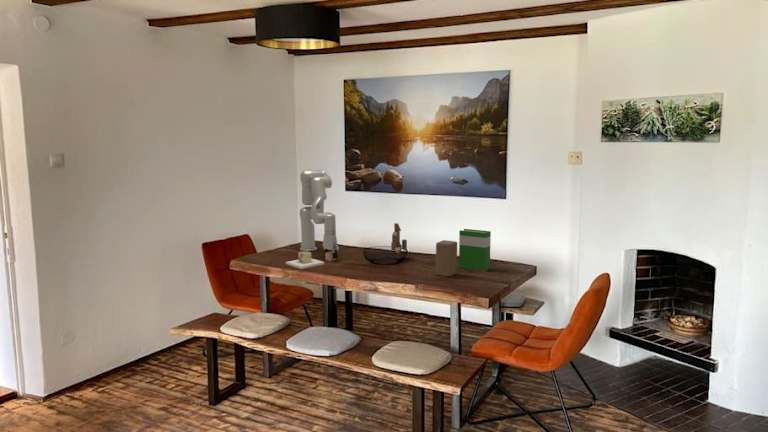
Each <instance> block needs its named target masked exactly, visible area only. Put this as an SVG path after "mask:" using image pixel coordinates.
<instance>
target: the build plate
mask: <svg viewBox="0 0 768 432" xmlns="http://www.w3.org/2000/svg"><path fill="white" fill-rule="evenodd" d="M311 261H312V262H307V263H302V262H299V259H295V260H289V261H285V265H288V266H291V267H293V268H297V269H300V270H303V269H308V268H314V267H318V266H324V265H325V261H323V260H319V259H315V258H312V257H311Z"/></svg>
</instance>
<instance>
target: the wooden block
mask: <svg viewBox="0 0 768 432" xmlns="http://www.w3.org/2000/svg"><path fill="white" fill-rule="evenodd" d="M457 273H458V242H457V241H453V240H445V239H443V240H441V241H438V242H436V243H435V275H436V274H437V276H440V275H443V276H442V277H447V276H451V277H453V276H454V274H455V275H457ZM452 275H453V276H452Z"/></svg>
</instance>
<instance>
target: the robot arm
mask: <svg viewBox="0 0 768 432" xmlns="http://www.w3.org/2000/svg"><path fill="white" fill-rule="evenodd" d="M299 178H300V183H301V203H302V205H304V206H303V207H301V208H300V209H299V217H300V225H301V226H300V227H301V243H300V244H299V245H300V247H299V250H300V251H301V252H305V251H307V252H311V251H312V252H313V251H317V250H318V247H317V246H316V243H315V242H316V239H315V237H316V234H315V225H324V234H323V242H322V243H321V244H322V249H323V254H324V255H323V256H324V257H325V253H326V252H329V251H332V252H333V259H336V260H337V258H338V253H339V249H340V247H339V246H338V240H337V232H336V231H337V226H336V214H334V213H332V212H330V211H329V212H328V211H327V212H324V209H325V201H326V200H327V198H328V196H327V191H326V189H330V188H332V186H333V181H332V178H331V176H330V175H329V174H328V173H327V171H325V170H324V169H308V170H302V171H301V173H300V176H299Z"/></svg>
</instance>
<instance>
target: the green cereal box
mask: <svg viewBox="0 0 768 432" xmlns="http://www.w3.org/2000/svg"><path fill="white" fill-rule="evenodd" d="M458 233H459V236H458V237H459V241H458V242H459V243H458V244H459V245H458V246H459V249H458V253H459V254H458V268H459V267H461V268H460V269H463V268H470V269H478V270H487V269H489V268H490V269H491V241H492V240H491V231H490V230H480V229H479V230H478V229H471V228H470V229H469V228H464V229H463V230H459V232H458ZM470 269H469V270H470ZM490 269H489V270H490ZM487 271H488V270H487Z"/></svg>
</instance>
